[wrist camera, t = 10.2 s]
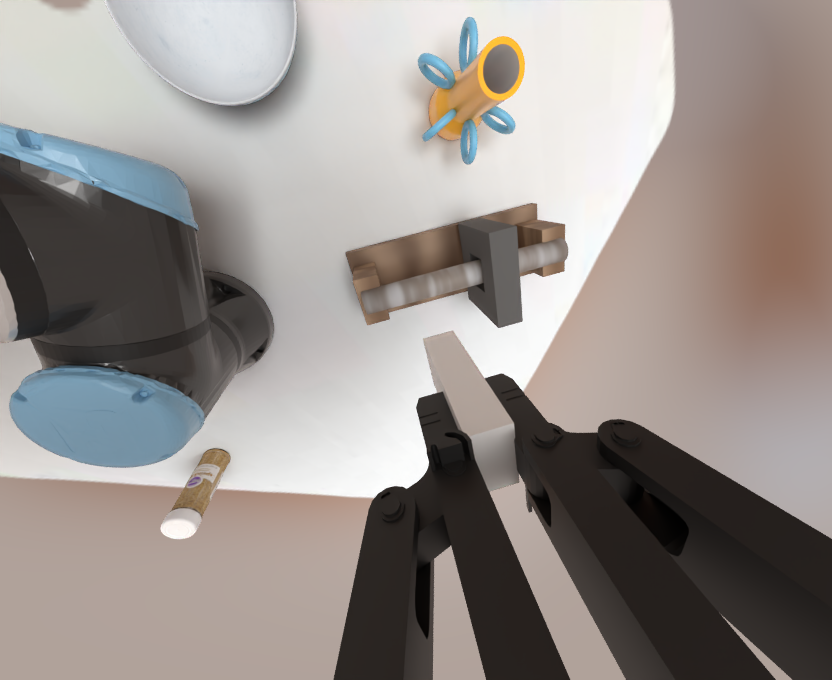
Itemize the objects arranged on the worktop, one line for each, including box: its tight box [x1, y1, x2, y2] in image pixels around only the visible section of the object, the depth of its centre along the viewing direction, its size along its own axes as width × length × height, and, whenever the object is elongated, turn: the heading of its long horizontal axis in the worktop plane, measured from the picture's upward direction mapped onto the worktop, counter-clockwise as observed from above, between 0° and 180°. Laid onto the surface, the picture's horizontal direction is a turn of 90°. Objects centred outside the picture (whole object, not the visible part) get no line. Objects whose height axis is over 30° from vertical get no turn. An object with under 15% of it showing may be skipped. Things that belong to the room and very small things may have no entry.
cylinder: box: [418, 17, 525, 164], centre depth 31 cm, size 12×10×15 cm
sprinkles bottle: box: [160, 449, 230, 539], centre depth 49 cm, size 5×5×14 cm
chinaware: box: [104, 0, 297, 106], centre depth 28 cm, size 15×15×8 cm
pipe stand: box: [346, 203, 568, 325], centre depth 41 cm, size 28×10×11 cm, turn 103°
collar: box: [458, 218, 522, 328], centre depth 38 cm, size 3×11×11 cm, turn 13°
